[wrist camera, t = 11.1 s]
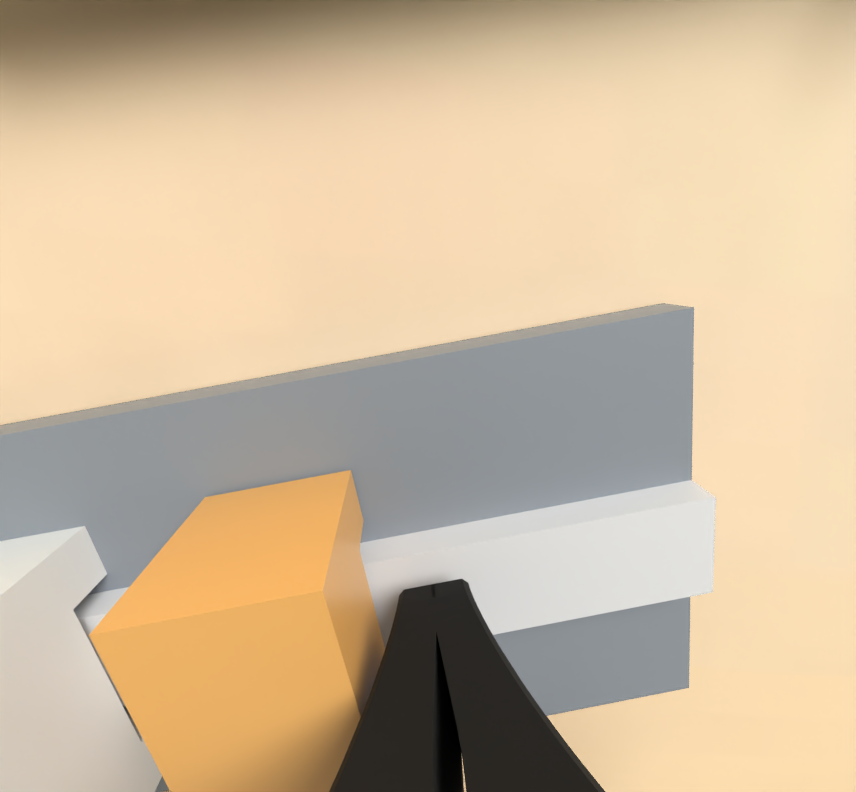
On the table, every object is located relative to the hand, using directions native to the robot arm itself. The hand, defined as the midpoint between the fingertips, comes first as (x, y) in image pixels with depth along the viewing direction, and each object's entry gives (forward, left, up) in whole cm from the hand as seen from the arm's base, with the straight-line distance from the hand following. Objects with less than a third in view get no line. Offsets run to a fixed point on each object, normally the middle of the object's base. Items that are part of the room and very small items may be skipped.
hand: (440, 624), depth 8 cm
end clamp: (0, +3, -1) cm, 3 cm away
